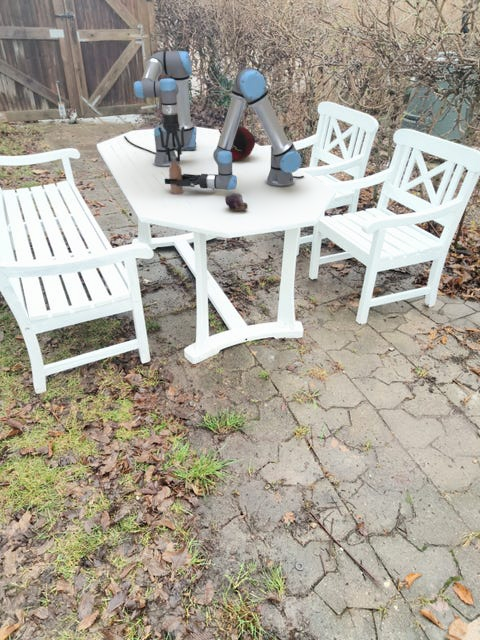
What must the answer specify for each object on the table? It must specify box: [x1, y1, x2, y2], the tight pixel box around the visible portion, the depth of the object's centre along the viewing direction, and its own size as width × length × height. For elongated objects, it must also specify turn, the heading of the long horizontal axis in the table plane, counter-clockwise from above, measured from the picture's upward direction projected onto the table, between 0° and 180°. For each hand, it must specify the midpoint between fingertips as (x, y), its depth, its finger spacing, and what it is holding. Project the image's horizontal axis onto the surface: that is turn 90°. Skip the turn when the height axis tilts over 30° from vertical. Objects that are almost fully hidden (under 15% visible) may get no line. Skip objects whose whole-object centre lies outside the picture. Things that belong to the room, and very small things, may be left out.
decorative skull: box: [218, 125, 256, 161], centre depth 298 cm, size 21×24×25 cm
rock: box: [224, 192, 249, 212], centre depth 223 cm, size 12×9×10 cm
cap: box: [170, 156, 178, 162], centre depth 239 cm, size 4×4×2 cm
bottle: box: [168, 162, 184, 195], centre depth 243 cm, size 7×7×18 cm
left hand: (174, 160), depth 239 cm, fingers open, 4 cm apart
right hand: (167, 179), depth 245 cm, fingers closed on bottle, 7 cm apart
